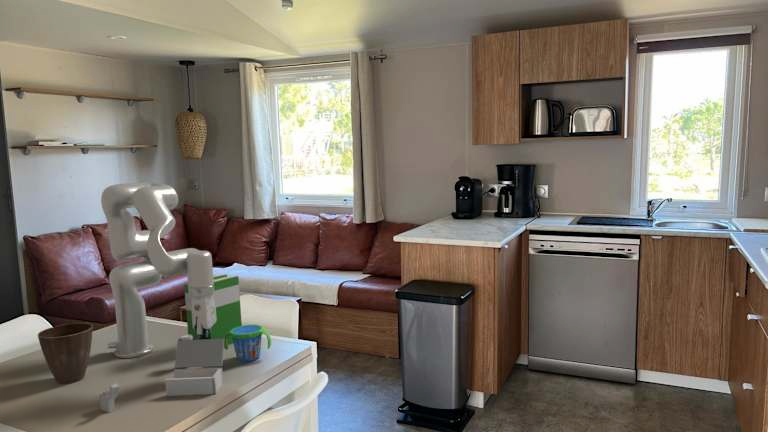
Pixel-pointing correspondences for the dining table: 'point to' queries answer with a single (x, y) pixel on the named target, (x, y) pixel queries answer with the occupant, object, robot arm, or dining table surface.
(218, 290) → the hardback book
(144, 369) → the dining table surface
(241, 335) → the snack cup
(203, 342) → the cover
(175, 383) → the open box
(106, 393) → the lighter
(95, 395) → the dining table surface
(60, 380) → the plant pot
